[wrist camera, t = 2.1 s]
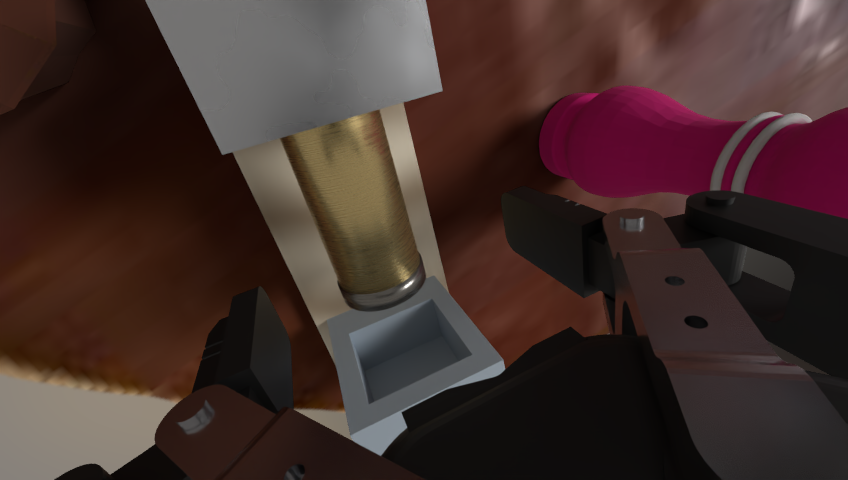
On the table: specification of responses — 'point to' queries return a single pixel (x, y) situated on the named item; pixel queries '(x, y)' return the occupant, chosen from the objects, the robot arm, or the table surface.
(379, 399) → the socket
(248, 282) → the table surface
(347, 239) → the tube
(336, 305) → the board
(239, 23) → the matte grey cuboid
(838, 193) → the pepper mill
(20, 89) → the muffin
